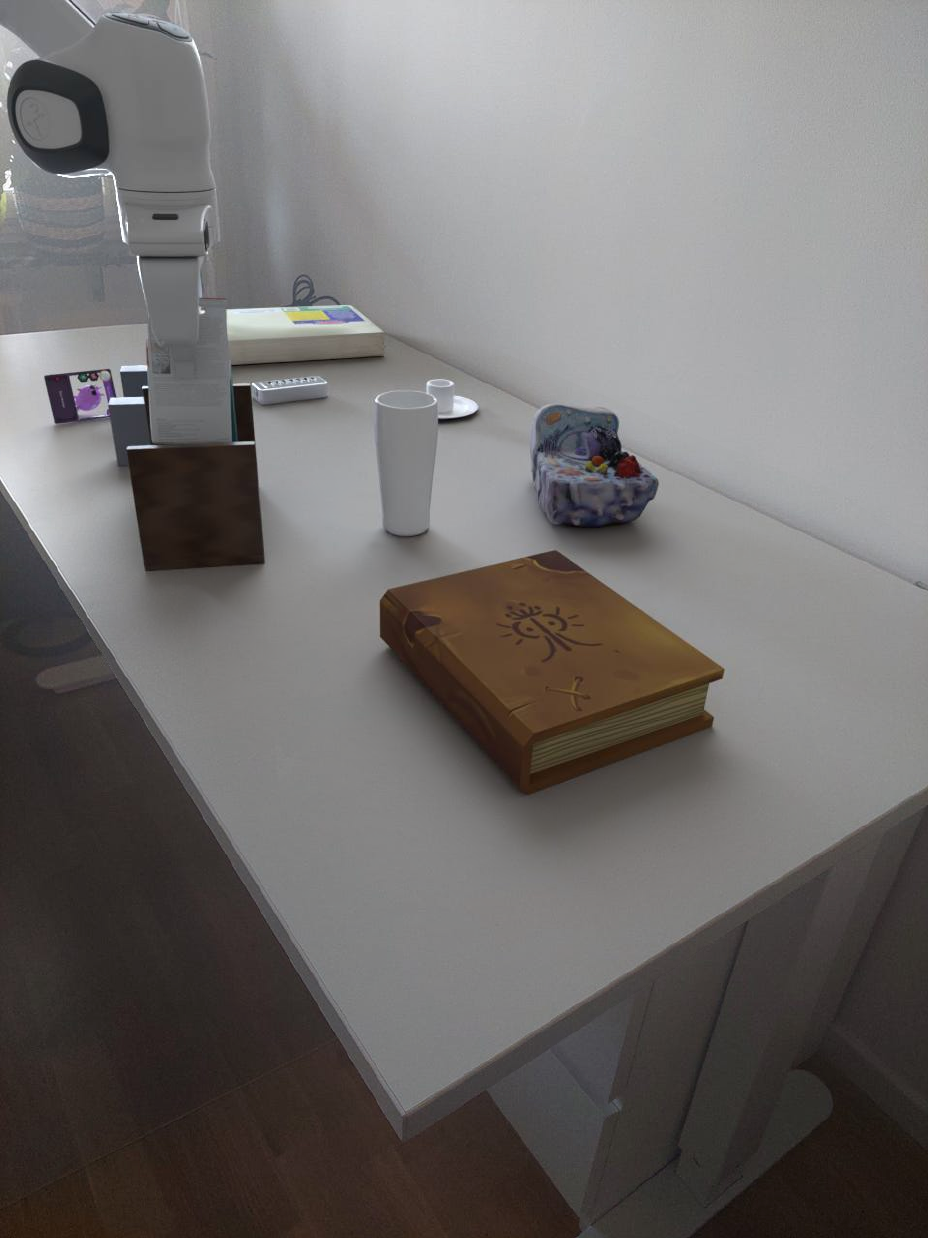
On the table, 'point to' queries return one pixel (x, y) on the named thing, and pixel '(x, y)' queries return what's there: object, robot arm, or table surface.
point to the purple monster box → (85, 400)
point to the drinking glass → (406, 458)
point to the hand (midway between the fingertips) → (187, 370)
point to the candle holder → (450, 400)
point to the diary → (548, 666)
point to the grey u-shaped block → (129, 412)
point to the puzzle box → (300, 334)
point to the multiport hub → (289, 390)
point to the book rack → (199, 497)
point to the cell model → (586, 468)
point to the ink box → (192, 384)
